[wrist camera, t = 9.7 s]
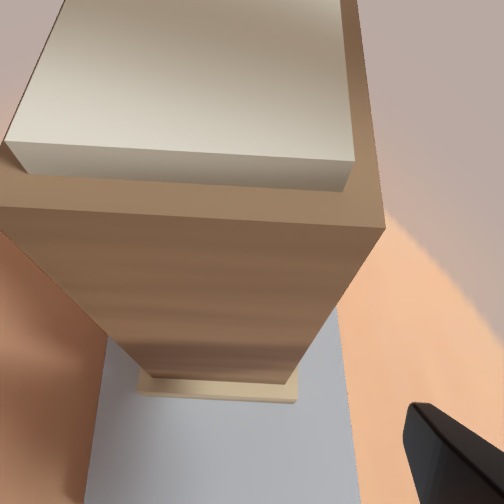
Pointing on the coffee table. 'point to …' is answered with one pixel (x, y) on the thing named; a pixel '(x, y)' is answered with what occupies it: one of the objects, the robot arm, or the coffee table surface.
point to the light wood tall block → (199, 182)
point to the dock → (225, 440)
